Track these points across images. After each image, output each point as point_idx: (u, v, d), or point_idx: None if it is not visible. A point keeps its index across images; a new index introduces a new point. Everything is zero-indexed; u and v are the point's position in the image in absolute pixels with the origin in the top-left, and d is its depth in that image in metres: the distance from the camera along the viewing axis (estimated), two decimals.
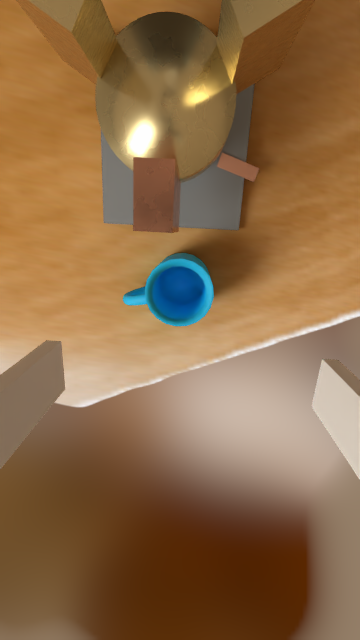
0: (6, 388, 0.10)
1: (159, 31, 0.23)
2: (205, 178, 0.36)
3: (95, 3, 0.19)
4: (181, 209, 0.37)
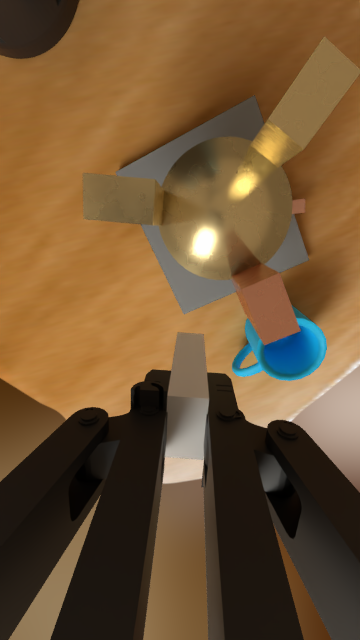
0: (189, 369, 0.12)
1: (195, 163, 0.24)
2: None
3: (157, 189, 0.21)
4: None
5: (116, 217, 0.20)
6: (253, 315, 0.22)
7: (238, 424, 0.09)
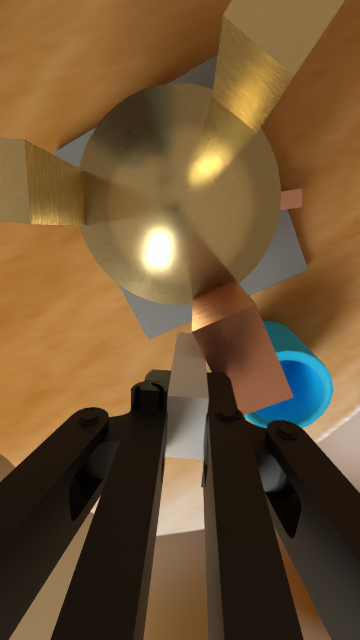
0: (189, 369, 0.12)
1: (129, 127, 0.16)
2: None
3: (41, 161, 0.12)
4: None
5: None
6: (214, 372, 0.13)
7: (238, 424, 0.09)
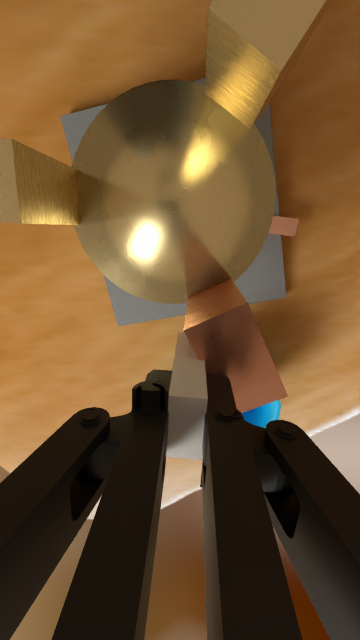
0: (190, 369, 0.12)
1: (121, 125, 0.16)
2: None
3: (31, 160, 0.12)
4: None
5: None
6: (207, 371, 0.13)
7: (237, 424, 0.09)
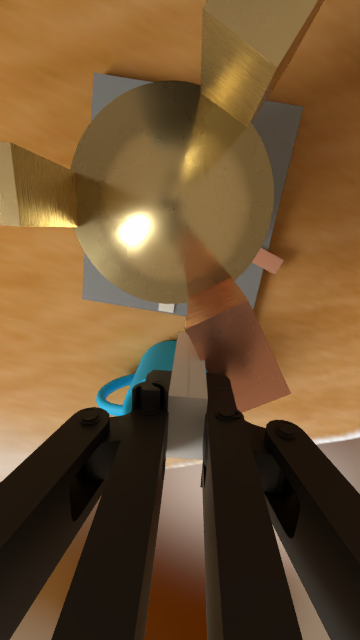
0: (189, 369, 0.12)
1: (118, 127, 0.16)
2: None
3: (30, 163, 0.12)
4: None
5: None
6: (209, 370, 0.13)
7: (237, 424, 0.09)
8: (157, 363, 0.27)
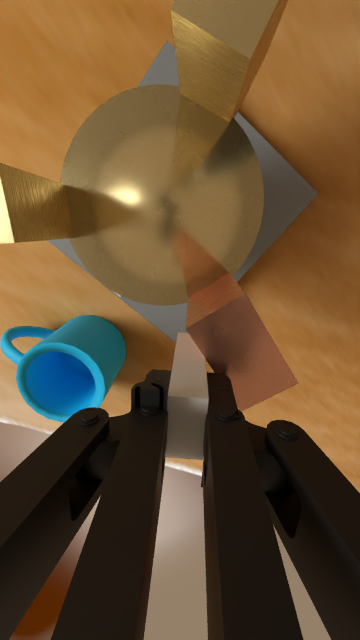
0: (189, 369, 0.12)
1: (103, 136, 0.16)
2: None
3: (18, 181, 0.12)
4: None
5: None
6: (214, 367, 0.13)
7: (238, 424, 0.09)
8: (79, 334, 0.27)
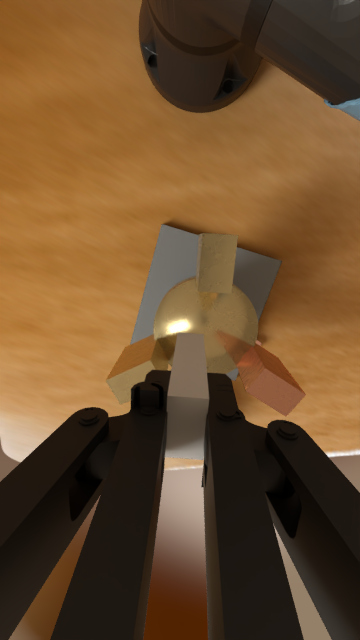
0: (189, 369, 0.12)
1: (167, 312, 0.32)
2: None
3: (154, 359, 0.29)
4: None
5: None
6: (265, 402, 0.28)
7: (238, 424, 0.09)
8: None
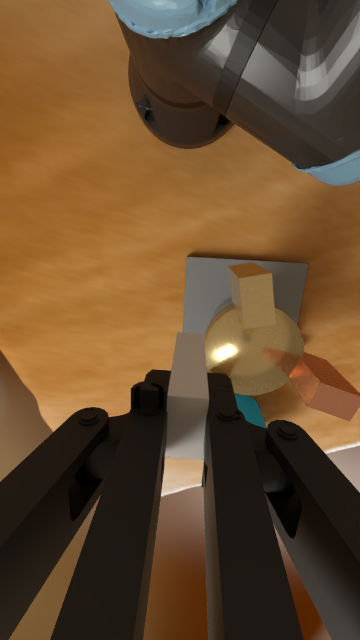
0: (189, 369, 0.12)
1: (215, 344, 0.35)
2: None
3: None
4: None
5: None
6: (327, 412, 0.30)
7: (238, 424, 0.09)
8: None
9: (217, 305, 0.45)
